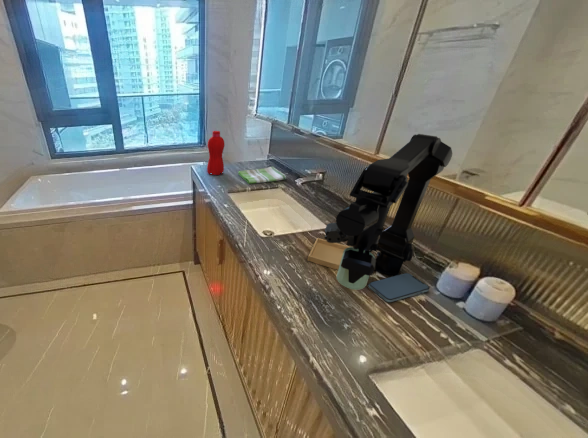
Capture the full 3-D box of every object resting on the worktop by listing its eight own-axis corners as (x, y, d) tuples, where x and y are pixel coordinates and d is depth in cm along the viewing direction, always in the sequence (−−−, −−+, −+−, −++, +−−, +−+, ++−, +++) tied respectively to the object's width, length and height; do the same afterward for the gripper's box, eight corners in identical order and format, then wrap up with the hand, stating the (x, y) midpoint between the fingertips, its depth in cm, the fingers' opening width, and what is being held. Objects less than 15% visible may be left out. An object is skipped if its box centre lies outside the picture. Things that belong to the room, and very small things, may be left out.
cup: (367, 277, 73) (375, 252, 69) (364, 293, 68) (374, 267, 64) (338, 268, 76) (345, 244, 72) (334, 283, 71) (341, 257, 67)
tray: (362, 254, 97) (363, 250, 96) (357, 276, 88) (359, 271, 87) (316, 242, 105) (317, 237, 104) (307, 260, 95) (308, 256, 94)
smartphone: (367, 282, 83) (407, 271, 86) (365, 286, 84) (406, 275, 87) (389, 300, 77) (431, 287, 80) (387, 304, 78) (429, 292, 81)
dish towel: (286, 180, 160) (287, 174, 158) (249, 184, 155) (249, 178, 153) (272, 171, 175) (272, 165, 173) (237, 174, 170) (237, 169, 168)
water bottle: (225, 170, 176) (227, 129, 164) (220, 176, 167) (221, 133, 155) (211, 169, 179) (212, 128, 167) (205, 174, 170) (205, 132, 158)
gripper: (338, 197, 74) (326, 246, 82) (323, 229, 61) (311, 284, 68) (387, 207, 69) (369, 258, 77) (384, 243, 55) (362, 302, 63)
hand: (352, 274), depth 71 cm, fingers closed on cup, 7 cm apart
